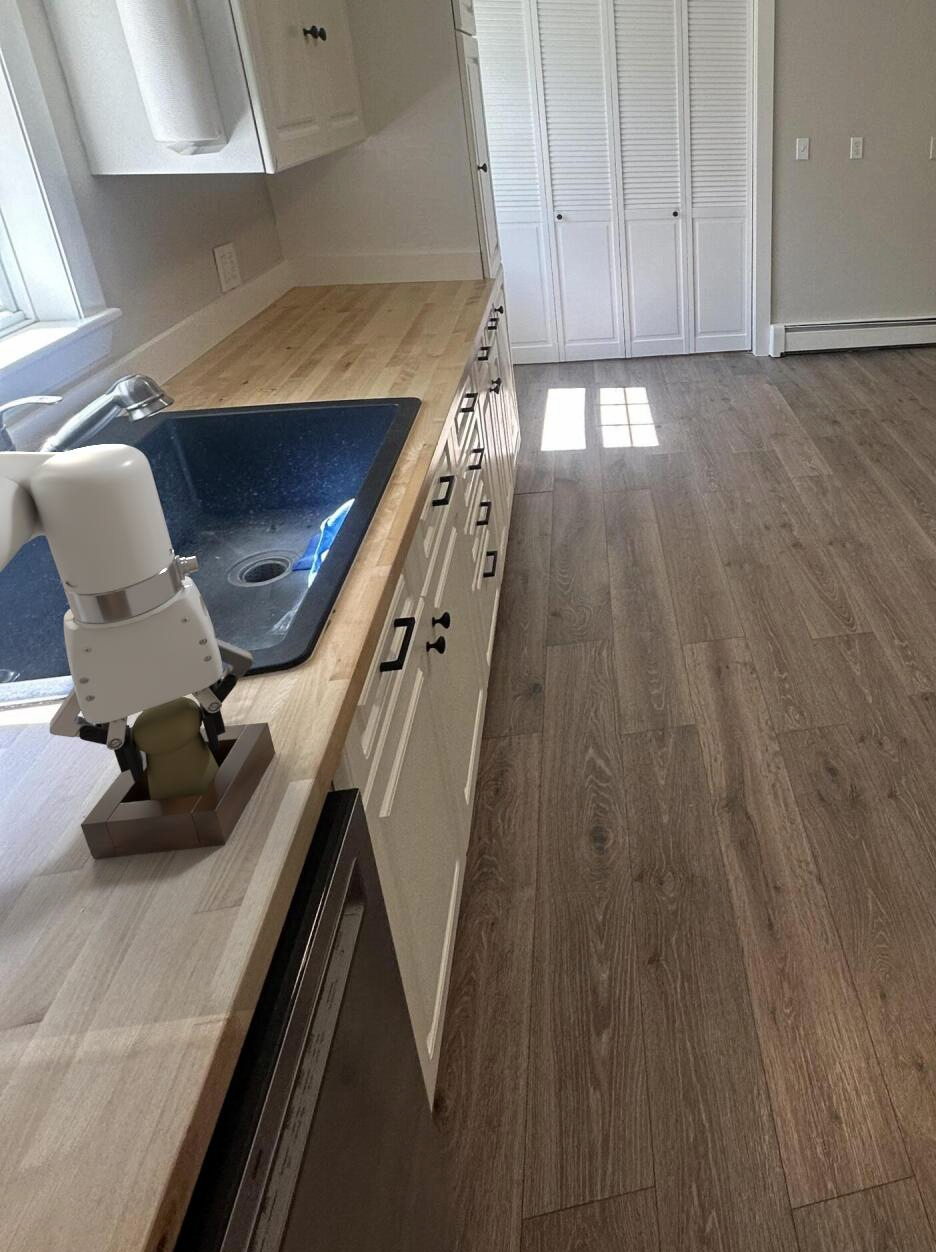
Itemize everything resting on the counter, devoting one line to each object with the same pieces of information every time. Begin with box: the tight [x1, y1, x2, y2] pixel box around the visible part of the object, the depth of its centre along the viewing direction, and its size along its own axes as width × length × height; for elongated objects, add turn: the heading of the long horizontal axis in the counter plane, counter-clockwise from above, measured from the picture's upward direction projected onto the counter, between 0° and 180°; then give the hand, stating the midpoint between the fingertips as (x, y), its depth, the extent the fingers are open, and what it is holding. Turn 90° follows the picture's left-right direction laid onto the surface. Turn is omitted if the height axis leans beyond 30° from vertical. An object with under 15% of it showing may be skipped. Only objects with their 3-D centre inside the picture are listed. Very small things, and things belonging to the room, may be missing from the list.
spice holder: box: [80, 722, 276, 860], centre depth 74 cm, size 11×11×4 cm
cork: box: [131, 696, 219, 801], centre depth 73 cm, size 6×6×11 cm
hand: (176, 754), depth 73 cm, fingers closed on cork, 5 cm apart
